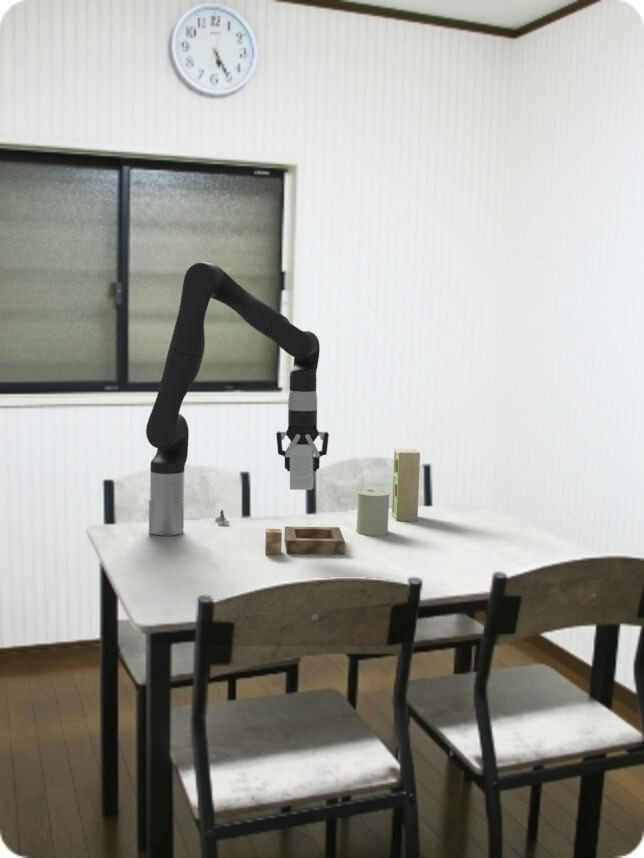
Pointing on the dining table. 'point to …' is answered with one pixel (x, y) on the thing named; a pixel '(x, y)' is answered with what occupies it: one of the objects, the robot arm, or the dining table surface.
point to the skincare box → (302, 467)
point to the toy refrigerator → (405, 484)
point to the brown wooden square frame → (314, 540)
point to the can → (372, 512)
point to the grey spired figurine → (221, 519)
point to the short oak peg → (273, 542)
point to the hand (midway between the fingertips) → (302, 470)
